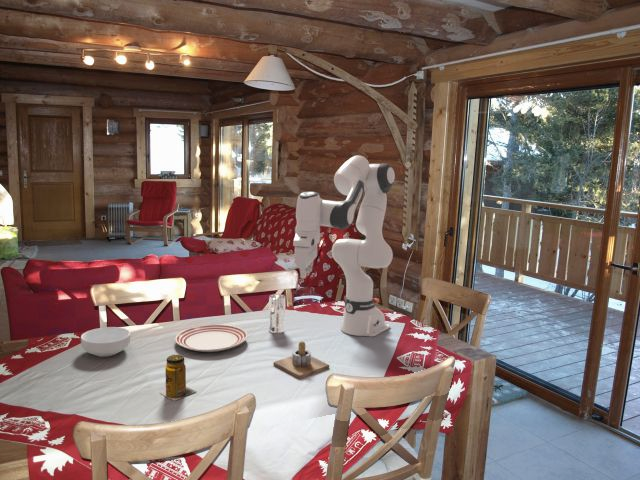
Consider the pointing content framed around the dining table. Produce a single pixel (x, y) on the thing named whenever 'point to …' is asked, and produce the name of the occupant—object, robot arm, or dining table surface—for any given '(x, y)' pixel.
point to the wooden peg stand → (301, 371)
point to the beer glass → (276, 312)
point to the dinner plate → (211, 338)
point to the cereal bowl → (105, 341)
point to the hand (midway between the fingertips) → (306, 274)
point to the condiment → (176, 378)
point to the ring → (301, 359)
